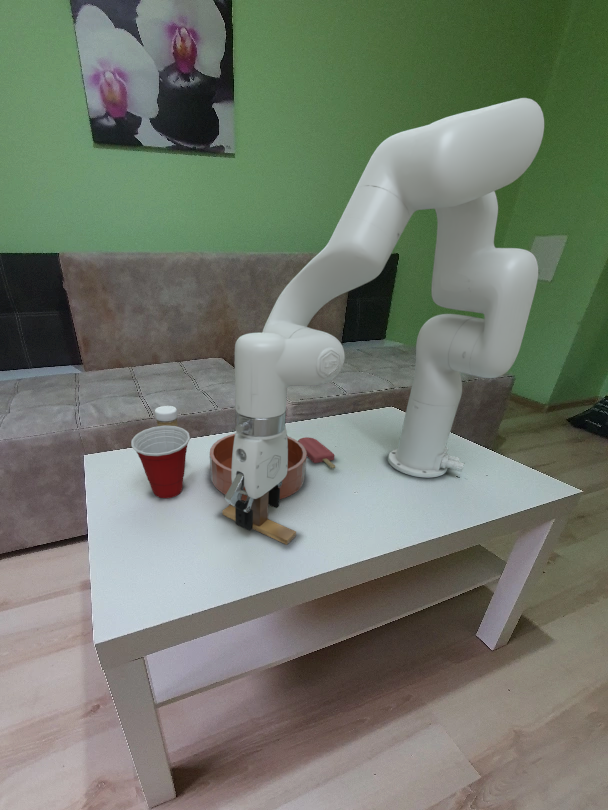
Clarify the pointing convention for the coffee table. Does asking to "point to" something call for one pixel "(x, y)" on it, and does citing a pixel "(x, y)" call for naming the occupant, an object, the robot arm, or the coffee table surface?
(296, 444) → the bowl
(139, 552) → the coffee table surface
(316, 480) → the coffee table surface
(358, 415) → the coffee table surface
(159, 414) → the sprinkles bottle
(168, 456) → the plastic cup
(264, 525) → the stirrer
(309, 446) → the popsicle
